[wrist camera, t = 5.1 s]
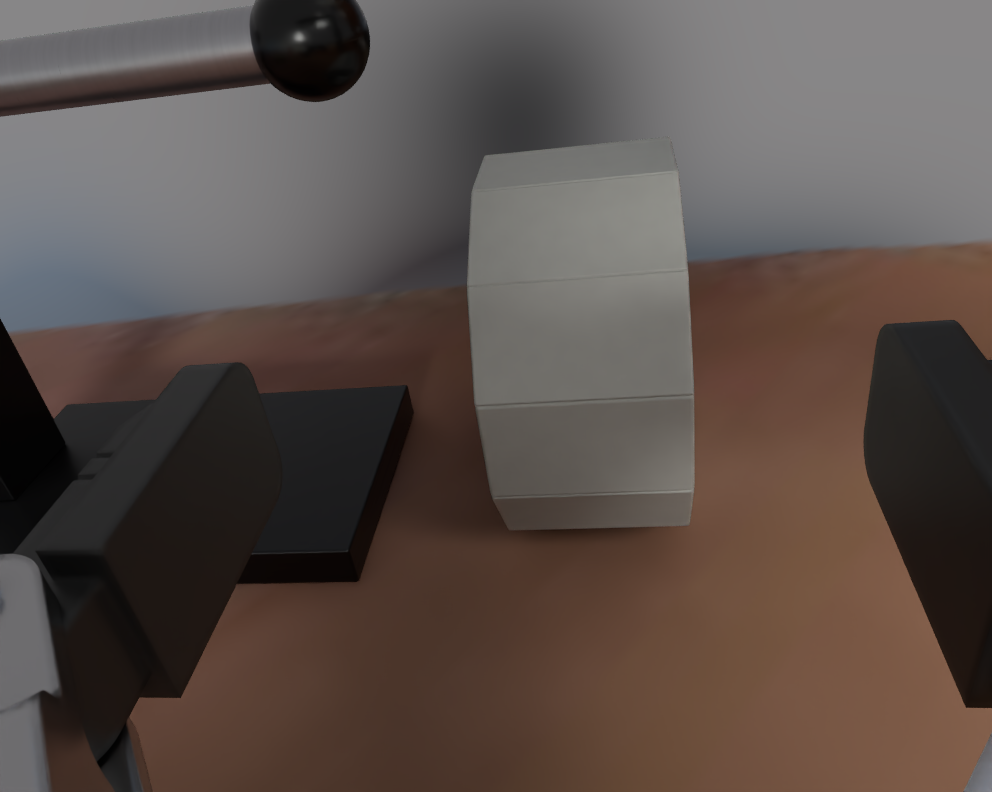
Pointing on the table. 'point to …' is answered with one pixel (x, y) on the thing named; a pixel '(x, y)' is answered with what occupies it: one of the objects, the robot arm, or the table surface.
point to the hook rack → (292, 415)
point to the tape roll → (583, 336)
